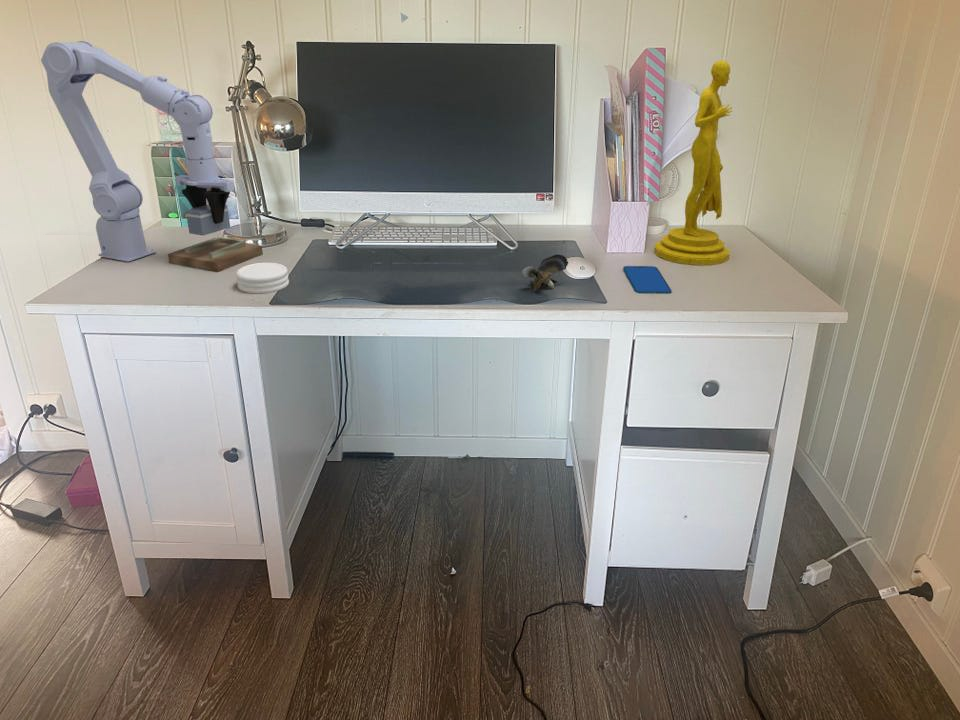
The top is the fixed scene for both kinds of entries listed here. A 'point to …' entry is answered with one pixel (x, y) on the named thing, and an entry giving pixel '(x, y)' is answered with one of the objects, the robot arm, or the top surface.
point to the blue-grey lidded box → (205, 221)
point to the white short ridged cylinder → (262, 277)
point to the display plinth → (216, 254)
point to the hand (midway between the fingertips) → (210, 221)
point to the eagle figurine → (546, 270)
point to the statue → (702, 185)
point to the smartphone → (646, 279)
